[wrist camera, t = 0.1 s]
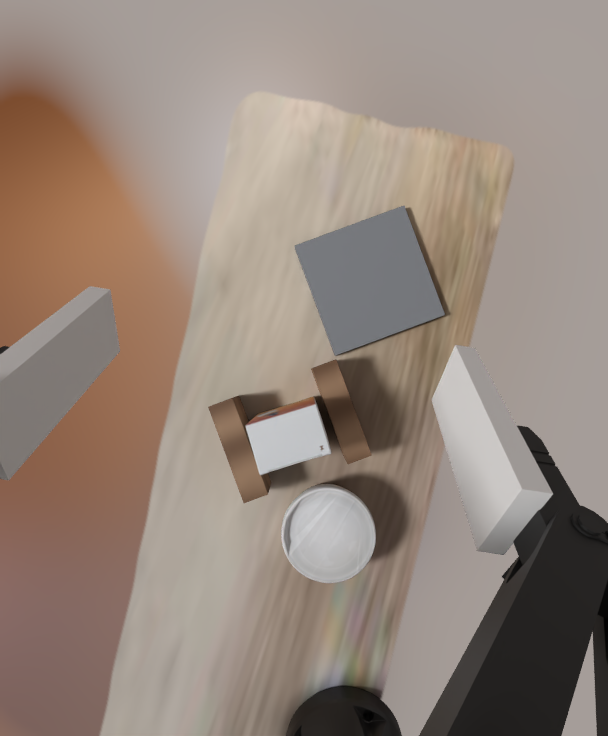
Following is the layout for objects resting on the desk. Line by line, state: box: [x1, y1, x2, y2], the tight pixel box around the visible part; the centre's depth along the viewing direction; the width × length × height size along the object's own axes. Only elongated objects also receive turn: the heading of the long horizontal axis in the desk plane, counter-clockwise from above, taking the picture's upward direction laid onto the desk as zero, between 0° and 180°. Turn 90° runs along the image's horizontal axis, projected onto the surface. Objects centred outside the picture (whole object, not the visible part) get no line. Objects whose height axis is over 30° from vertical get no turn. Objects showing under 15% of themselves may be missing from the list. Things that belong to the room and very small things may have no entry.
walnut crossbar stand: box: [208, 360, 371, 503], centre depth 48 cm, size 12×16×5 cm
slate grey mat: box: [295, 206, 445, 356], centre depth 51 cm, size 15×15×1 cm
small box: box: [246, 397, 331, 475], centre depth 46 cm, size 8×6×10 cm
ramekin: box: [281, 484, 376, 583], centre depth 48 cm, size 11×11×5 cm
